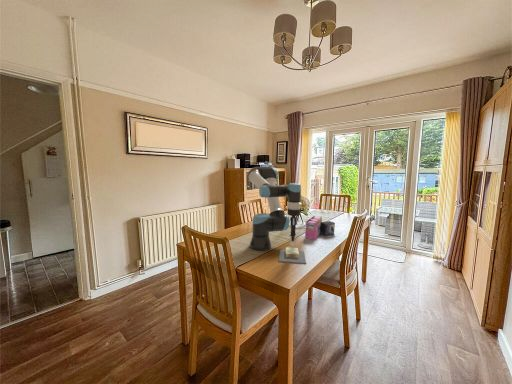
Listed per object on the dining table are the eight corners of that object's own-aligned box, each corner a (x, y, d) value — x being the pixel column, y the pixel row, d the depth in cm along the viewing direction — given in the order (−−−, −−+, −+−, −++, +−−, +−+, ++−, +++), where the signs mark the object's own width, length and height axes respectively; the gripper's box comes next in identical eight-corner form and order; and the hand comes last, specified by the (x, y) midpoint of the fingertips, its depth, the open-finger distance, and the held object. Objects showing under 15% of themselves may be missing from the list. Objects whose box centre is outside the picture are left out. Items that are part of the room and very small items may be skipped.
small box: (325, 236, 176) (325, 224, 175) (319, 234, 182) (320, 222, 181) (334, 234, 181) (335, 222, 180) (328, 232, 187) (329, 220, 186)
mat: (278, 261, 129) (278, 260, 128) (280, 250, 146) (280, 249, 146) (306, 264, 126) (306, 263, 126) (303, 251, 144) (303, 251, 144)
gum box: (313, 230, 192) (313, 215, 191) (322, 232, 188) (322, 216, 187) (304, 238, 172) (305, 221, 170) (314, 239, 168) (315, 223, 166)
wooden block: (285, 253, 134) (285, 247, 144) (285, 257, 134) (285, 250, 144) (298, 254, 133) (297, 247, 143) (298, 257, 133) (297, 251, 143)
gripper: (300, 211, 124) (299, 249, 127) (299, 206, 137) (298, 242, 140) (287, 210, 125) (286, 249, 128) (287, 206, 138) (286, 241, 141)
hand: (292, 245), depth 134 cm, fingers closed
